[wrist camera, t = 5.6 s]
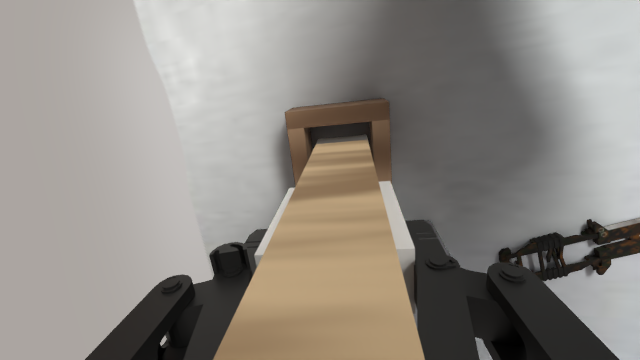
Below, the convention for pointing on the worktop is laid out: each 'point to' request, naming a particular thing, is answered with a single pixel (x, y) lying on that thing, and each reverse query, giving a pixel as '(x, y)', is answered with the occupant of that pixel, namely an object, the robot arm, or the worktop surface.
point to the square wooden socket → (335, 115)
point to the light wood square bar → (328, 272)
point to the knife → (594, 231)
